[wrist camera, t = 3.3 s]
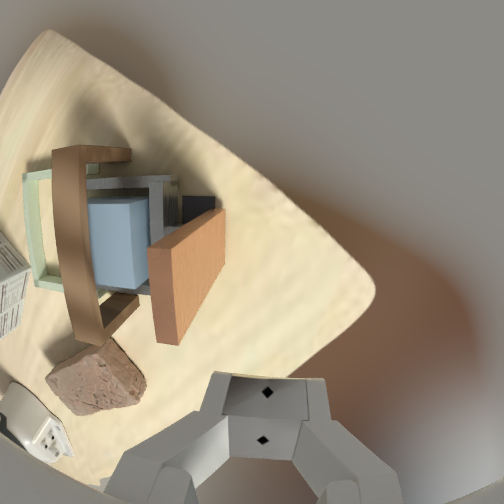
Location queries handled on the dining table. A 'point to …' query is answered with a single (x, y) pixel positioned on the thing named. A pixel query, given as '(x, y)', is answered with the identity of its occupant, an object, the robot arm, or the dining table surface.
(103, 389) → the brick
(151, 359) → the dining table surface
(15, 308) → the supplement box
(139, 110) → the dining table surface
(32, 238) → the green hollow frame
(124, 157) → the tunnel
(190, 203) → the dark grey flat block
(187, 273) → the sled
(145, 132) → the dining table surface
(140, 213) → the block
